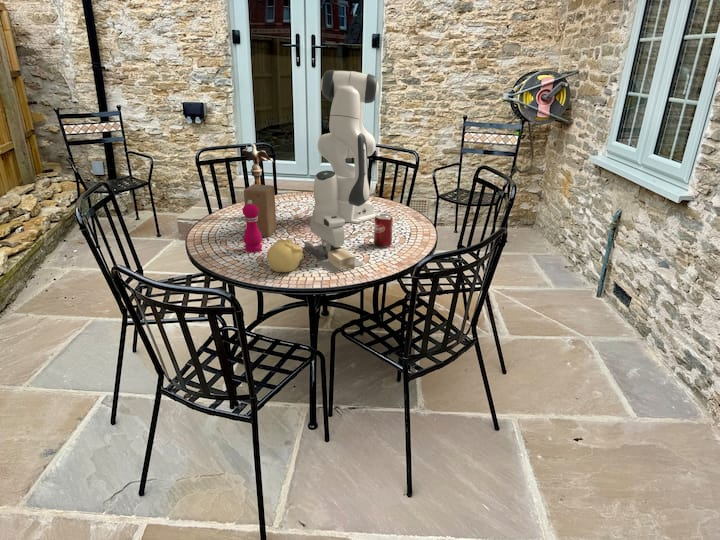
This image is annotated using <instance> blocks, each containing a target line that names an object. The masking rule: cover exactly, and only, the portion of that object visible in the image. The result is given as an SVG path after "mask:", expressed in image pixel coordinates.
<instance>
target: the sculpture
mask: <svg viewBox="0 0 720 540" xmlns="http://www.w3.org/2000/svg"><path fill="white" fill-rule="evenodd" d="M303 251H304V250H303V248H302V247H301V246H300V245H298V244H297V243H295V242H293V240H292V239H278V240H277V241H276V242H275V243H273V244H272V245H271V246H270V247H269V248H268V251H267V254H266V260H267V261H266V262H267V264H268V266H269V268H270V269H271V270H272V271H274V272H277V273H288V272H289V273H290V272H293V271H295V270H296V269H297V268H298V266H299V265H300V262H301V261H302V260H303V256H304V255H303Z"/></svg>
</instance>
